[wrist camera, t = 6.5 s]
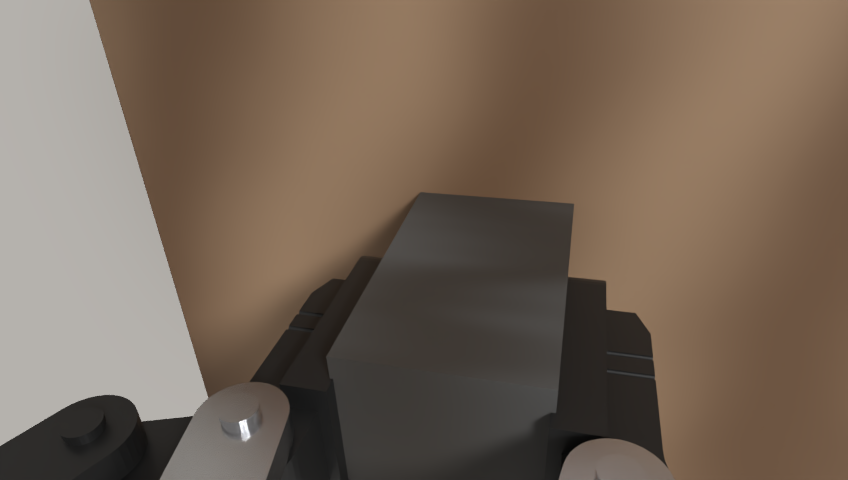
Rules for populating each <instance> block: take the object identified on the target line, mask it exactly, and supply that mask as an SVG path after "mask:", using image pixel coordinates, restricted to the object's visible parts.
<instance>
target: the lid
mask: <svg viewBox="0 0 848 480" xmlns="http://www.w3.org/2000/svg"><path fill="white" fill-rule="evenodd" d="M90 3H91V7H92V10H93V13H94V17H95V20H96V23H97V27H98V30H99V33H100V37H101V40H102V43H103V47H104V50H105V53H106V57H107V60H108V64H109V67H110V70H111V74H112V77H113V80H114V84H115V87H116V90H117V94H118V97H119V100H120V104H121V107H122V110H123V114H124V117H125V120H126V124H127V127H128V130H129V134H130V137H131V140H132V143H133V147H134V150H135V154H136V157H137V160H138V164H139V167H140V171H141V174H142V177H143V181H144V184H145V187H146V190H147V194H148V197H149V200H150V204H151V207H152V211H153V214H154V217H155V220H156V224H157V227H158V231H159V234H160V237H161V241H162V244H163V247H164V251H165V254H166V257H167V261H168V264H169V267H170V271H171V274H172V278H173V281H174V284H175V288H176V291H177V294H178V297H179V301H180V304H181V308H182V311H183V314H184V318H185V321H186V324H187V328H188V331H189V334H190V337H191V341H192V344H193V348H194V351H195V354H196V358H197V361H198V364H199V367H200V371H201V374H202V378H203V381H204V385H205V388H206V391H207V394H208V398H209V397H211V396H212V395H214V394H215V393H217V392H219V391H221V390H222V389H225V388H227V387H230V386H233V385H236V384H240V383H246V382H250V380H251V379H252V377H253V376H254V374H255V373H256V372H257V370H258V369H259V367H260V366H261V364H262V363H263V362H264V360H265V359H266V357H267V356H268V354H269V353H270V352H271V350H272V349H273V347H274V346H275V344H276V343H277V342H278V340H279V339H280V337H281V336H282V335H283V333H284V332H285V330H286V329H287V330H288V329H289V325H290V323H291V322H292V320H293V319H294V317H295V316H296V315H297V314H298V315H299V310H300V309H301V307H302V306H303V305H304V303H305V302H306V300H307V299H308V297H309V296H310V295H311V293H312V292H314V291H315V290H317V289H318V288H320V287H321V286H322V285H324V284H325V283H327V282H328V281H330V280H331V279H333V278H334V279H342V280H346V279H347V277H348V275H349V274H350V272H351V271H352V269H353V268H354V266H355V264H356V263H357V261H358V260H359V258H360V257H361V256H373V257H383V258H382V260H381V262H380V264H379V265H378V267H377V269H376V271H375V272H374V274H373V276H372V278H371V279H370V281H369V283H368V285H367V286H366V288H365V290H364V292H363V293H362V295H361V297H360V299H359V300H358V302H357V304H356V306H355V307H354V309H353V311H352V312H351V314H350V316H349V318H348V319H347V321H346V323H345V325H344V326H343V328H342V330H341V332H340V333H339V335H338V337H337V339H336V340H335V342H334V344H333V346H332V347H331V349H330V351H329V353H328V354H327V356H326V358H327V365H328V371H329V377H330V379H333V382H334V388H335V395H336V401H337V408H338V414H339V421H340V427H341V434H342V440H343V447H344V453H345V460H346V466H347V473H348V479H349V480H544V478H545V467H546V456H547V445H548V435H549V424H550V414H551V413H556V408H557V398H558V388H559V376H560V364H561V353H562V341H563V329H564V317H565V306H566V294H567V282H568V277H575V278H585V279H595V280H604V281H606V305H607V310H614V311H623V312H632V313H636V314H637V316H638V317H639V318H640V320H641V321H642V322H643V324H644V325H645V327H646V328H647V329H648V331H649V332H650V333H651V341H652V351H653V361H654V369H655V380H656V388H657V398H658V407H659V417H660V426H661V436H662V445H663V453H664V458H665V462H666V464H667V467H668V469H669V471H670V472H671V474H672V475H673V477H674V479H675V480H848V0H90Z"/></svg>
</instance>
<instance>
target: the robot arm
mask: <svg viewBox="0 0 848 480" xmlns="http://www.w3.org/2000/svg"><path fill="white" fill-rule="evenodd" d="M382 258H383V257H373V256H361V257H360V258H359V260H358V261H357V263H356V264H355V266H354V268H353V269H352V271H351V272H350V274H349V275H348V277H347V279H346V280H342V279H334V278H333V279H331V280H330V281H328V282H327V283H325V284H324V285H322V286H321V287H320V288H318V289H317V290H315V291H314V292H312V293H311V295H310V296H309V297H308V299H307V300H306V302H305V303H304V305H303V306H302V307H301V309H300V310H299V315H298V314H297V315H296V316H295V317H294V319H293V320H292V322H291V323H290V325H289V329H288V330H287V329H286V330H285V332H284V333H283V335H282V336H281V337H280V339H279V340H278V342H277V343H276V344H275V346H274V347H273V349H272V350H271V352H270V353H269V354H268V356H267V357H266V359H265V360H264V362H263V363H262V364H261V366H260V367H259V369H258V370H257V372H256V373H255V374H254V376H253V377H252V379H251V380H250V382H246V383H240V384H236V385H233V386H230V387H227V388H225V389H222V390H221V391H219V392H217V393H215V394H214V395H212V396H211V397H209V398H208V399H207V400H206V401H205V402H204V403H203V404H202V405H201V406H200V407H199V408H198V409H197V411H196V412H195V414H194V416H190V417H183V418H173V419H163V420H154V421H143V422H141V419H140V417H139V414H138V412H137V409H136V407H135V405H134V404H133V403H132V402H131V401H130V400H128V399H126V398H124V397H121V396H115V395H103V396H95V397H91V398H87V399H85V400H81V401H78V402H76V403H74V404H71V405H69V406H67V407H66V408H64V409H62V410H60V411H59V412H57V413H55V414H54V415H52V416H50V417H49V418H47V419H45V420H44V421H42V422H40V423H39V424H37V425H35V426H33V427H32V428H30V429H28V430H27V431H25V432H23V433H22V434H20V435H19V436H16V437H15V438H13V439H11V440H10V441H8V442H6V443H5V444H3V445H1V446H0V480H349V479H348V473H347V466H346V460H345V453H344V447H343V440H342V434H341V427H340V421H339V414H338V408H337V401H336V395H335V388H334V382H333V379H330V377H329V371H328V365H327V358H326V356H327V354H328V353H329V351H330V349H331V347H332V346H333V344H334V342H335V340H336V339H337V337H338V335H339V333H340V332H341V330H342V328H343V326H344V325H345V323H346V321H347V319H348V318H349V316H350V314H351V312H352V311H353V309H354V307H355V306H356V304H357V302H358V300H359V299H360V297H361V295H362V293H363V292H364V290H365V288H366V286H367V285H368V283H369V281H370V279H371V278H372V276H373V274H374V272H375V271H376V269H377V267H378V265H379V264H380V262H381V260H382ZM544 480H675V479H674V477H673V475H672V474H671V472H670V471H669V469H668V467H667V464H666V462H665V458H664V453H663V445H662V436H661V426H660V417H659V407H658V398H657V388H656V380H655V369H654V361H653V351H652V341H651V333H650V332H649V331H648V329H647V328H646V327H645V325H644V324H643V322H642V321H641V320H640V318H639V317H638V316H637V314H636V313H632V312H623V311H614V310H607V305H606V281H604V280H595V279H585V278H575V277H568V282H567V294H566V306H565V317H564V329H563V341H562V353H561V364H560V376H559V388H558V398H557V408H556V413H551V414H550V424H549V435H548V445H547V456H546V467H545V478H544Z"/></svg>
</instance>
